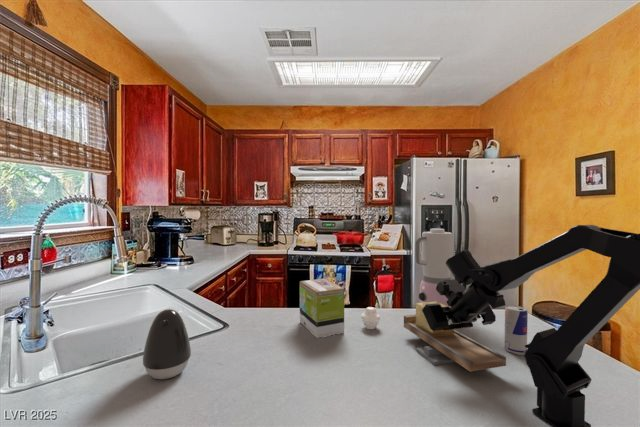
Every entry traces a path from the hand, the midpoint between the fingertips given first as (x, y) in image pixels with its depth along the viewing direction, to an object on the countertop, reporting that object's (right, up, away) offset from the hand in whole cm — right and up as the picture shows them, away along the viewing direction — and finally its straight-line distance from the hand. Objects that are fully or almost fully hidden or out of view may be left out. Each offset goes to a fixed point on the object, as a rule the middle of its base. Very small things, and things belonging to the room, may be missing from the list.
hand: (444, 328), depth 86 cm
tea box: (-34, -6, +17) cm, 38 cm away
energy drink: (+20, -7, +1) cm, 22 cm away
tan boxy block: (-1, -2, +4) cm, 5 cm away
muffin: (-17, -6, +18) cm, 26 cm away
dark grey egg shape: (-70, -6, -12) cm, 72 cm away
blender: (+9, -6, +32) cm, 34 cm away
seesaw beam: (0, -4, -1) cm, 4 cm away
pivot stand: (0, -6, -1) cm, 7 cm away
